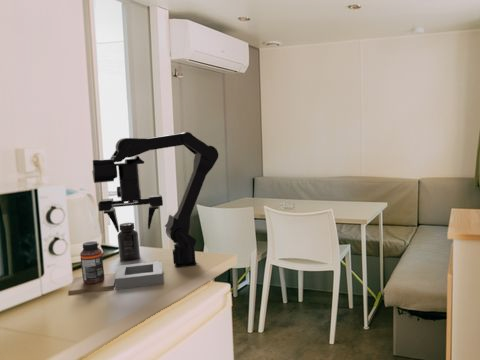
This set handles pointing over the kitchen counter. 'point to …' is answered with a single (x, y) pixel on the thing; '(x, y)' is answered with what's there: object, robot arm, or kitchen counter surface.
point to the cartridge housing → (138, 275)
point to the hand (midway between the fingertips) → (133, 230)
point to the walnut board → (92, 285)
